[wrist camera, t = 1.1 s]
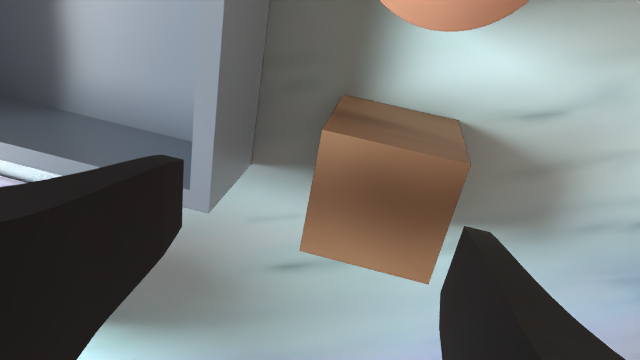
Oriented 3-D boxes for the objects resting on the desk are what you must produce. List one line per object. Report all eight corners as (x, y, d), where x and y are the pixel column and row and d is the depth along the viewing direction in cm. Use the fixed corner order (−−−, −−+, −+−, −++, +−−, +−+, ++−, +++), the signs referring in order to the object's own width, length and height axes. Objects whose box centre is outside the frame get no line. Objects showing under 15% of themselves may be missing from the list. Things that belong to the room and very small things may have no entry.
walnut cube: (426, 219, 21) (428, 284, 17) (323, 194, 22) (299, 250, 17) (458, 119, 19) (470, 164, 15) (343, 94, 20) (322, 129, 15)
